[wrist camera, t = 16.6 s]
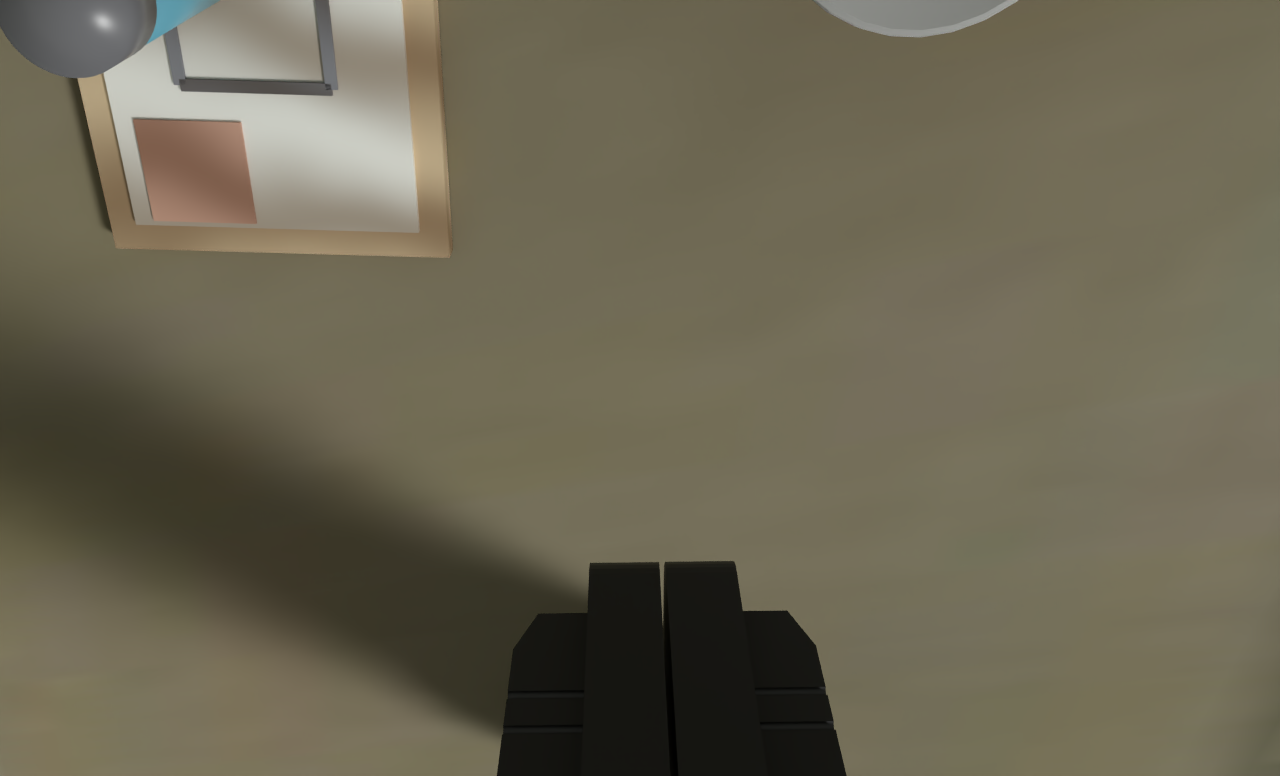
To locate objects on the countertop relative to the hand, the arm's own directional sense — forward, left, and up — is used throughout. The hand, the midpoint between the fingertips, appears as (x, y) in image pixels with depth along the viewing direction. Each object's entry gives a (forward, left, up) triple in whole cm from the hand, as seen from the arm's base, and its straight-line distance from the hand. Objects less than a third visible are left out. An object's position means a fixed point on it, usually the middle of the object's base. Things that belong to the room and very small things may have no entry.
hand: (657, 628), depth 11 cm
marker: (+3, +14, -27) cm, 31 cm away
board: (+1, +13, -28) cm, 31 cm away
